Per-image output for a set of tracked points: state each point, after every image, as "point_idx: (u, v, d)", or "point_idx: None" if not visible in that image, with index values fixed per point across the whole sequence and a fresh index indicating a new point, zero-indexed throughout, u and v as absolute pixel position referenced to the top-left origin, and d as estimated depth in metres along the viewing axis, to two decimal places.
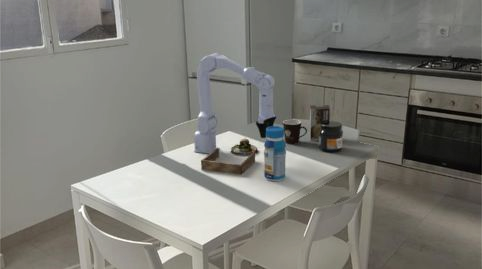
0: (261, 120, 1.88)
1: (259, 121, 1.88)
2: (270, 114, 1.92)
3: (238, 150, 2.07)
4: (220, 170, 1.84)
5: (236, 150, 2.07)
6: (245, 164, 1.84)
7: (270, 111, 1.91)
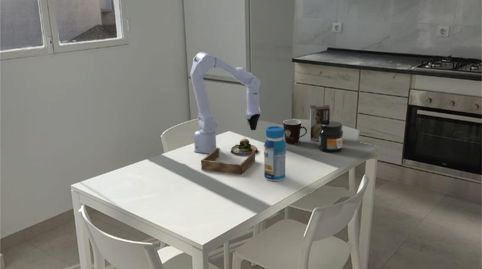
0: (248, 116, 2.07)
1: (246, 117, 2.07)
2: (256, 110, 2.11)
3: (238, 150, 2.07)
4: (220, 170, 1.84)
5: (236, 150, 2.07)
6: (245, 164, 1.84)
7: (256, 108, 2.10)
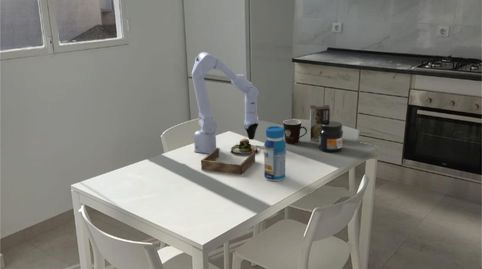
0: (246, 125, 2.06)
1: (244, 126, 2.06)
2: (254, 120, 2.10)
3: (238, 150, 2.07)
4: (220, 170, 1.84)
5: (236, 150, 2.07)
6: (245, 164, 1.84)
7: (254, 117, 2.09)
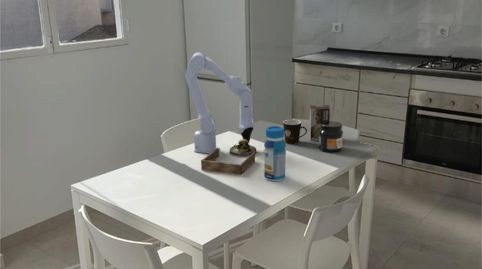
0: (241, 129, 2.00)
1: (239, 130, 2.00)
2: (250, 124, 2.04)
3: (237, 150, 2.06)
4: (220, 170, 1.84)
5: (235, 150, 2.06)
6: (245, 164, 1.84)
7: (250, 121, 2.04)
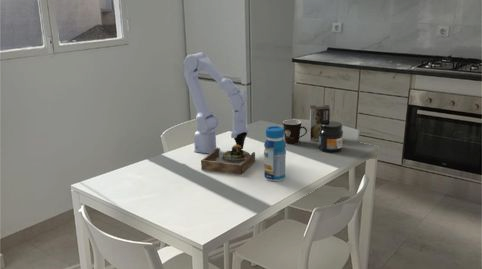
0: (234, 135, 1.93)
1: (232, 136, 1.93)
2: (243, 129, 1.97)
3: (230, 156, 1.99)
4: (220, 170, 1.84)
5: (228, 156, 1.99)
6: (245, 164, 1.84)
7: (243, 126, 1.97)
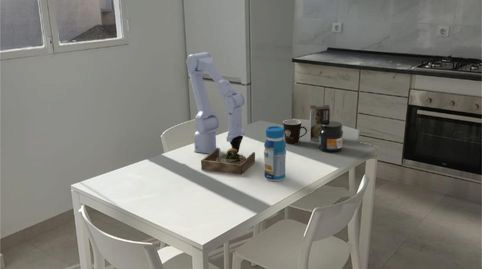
0: (229, 138, 1.89)
1: (227, 139, 1.89)
2: (239, 132, 1.93)
3: (225, 160, 1.94)
4: (220, 170, 1.84)
5: (223, 160, 1.95)
6: (245, 164, 1.84)
7: (239, 129, 1.92)
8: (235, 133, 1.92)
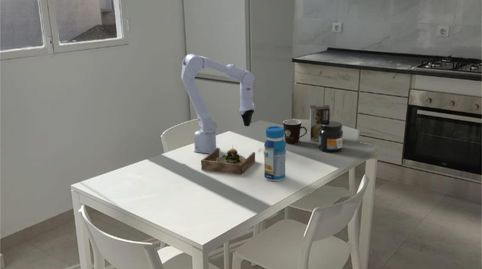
0: (241, 111, 2.03)
1: (239, 112, 2.04)
2: (250, 106, 2.07)
3: (225, 161, 1.95)
4: (220, 170, 1.84)
5: (223, 161, 1.95)
6: (245, 164, 1.84)
7: (250, 103, 2.07)
8: (246, 107, 2.07)
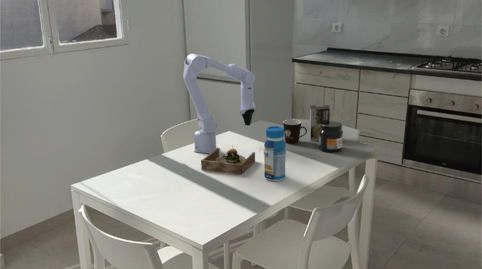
0: (242, 111, 2.05)
1: (240, 112, 2.05)
2: (251, 105, 2.09)
3: (225, 161, 1.95)
4: (220, 170, 1.84)
5: (223, 161, 1.95)
6: (245, 164, 1.84)
7: (251, 103, 2.09)
8: (247, 106, 2.08)
